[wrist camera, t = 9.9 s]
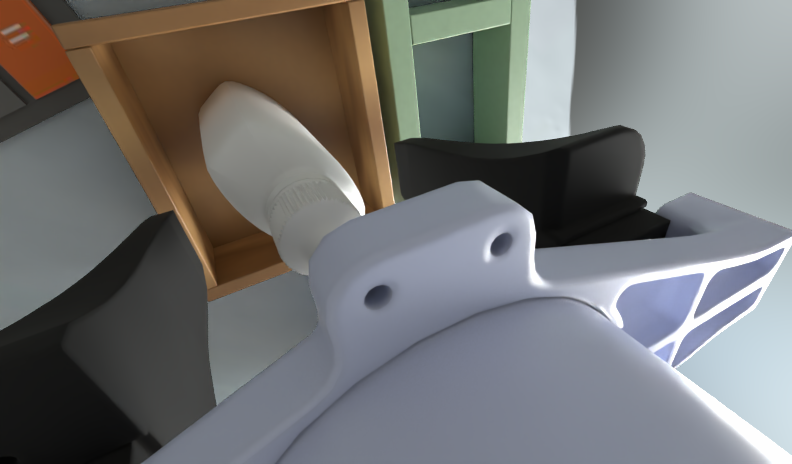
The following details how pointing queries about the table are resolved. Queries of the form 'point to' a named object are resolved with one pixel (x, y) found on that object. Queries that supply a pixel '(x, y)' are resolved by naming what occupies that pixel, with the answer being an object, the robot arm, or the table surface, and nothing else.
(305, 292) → the table surface
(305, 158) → the eye dropper bottle
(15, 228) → the table surface
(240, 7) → the open wooden box
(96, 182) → the table surface
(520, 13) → the green divided tray
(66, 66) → the calculator
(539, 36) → the table surface
